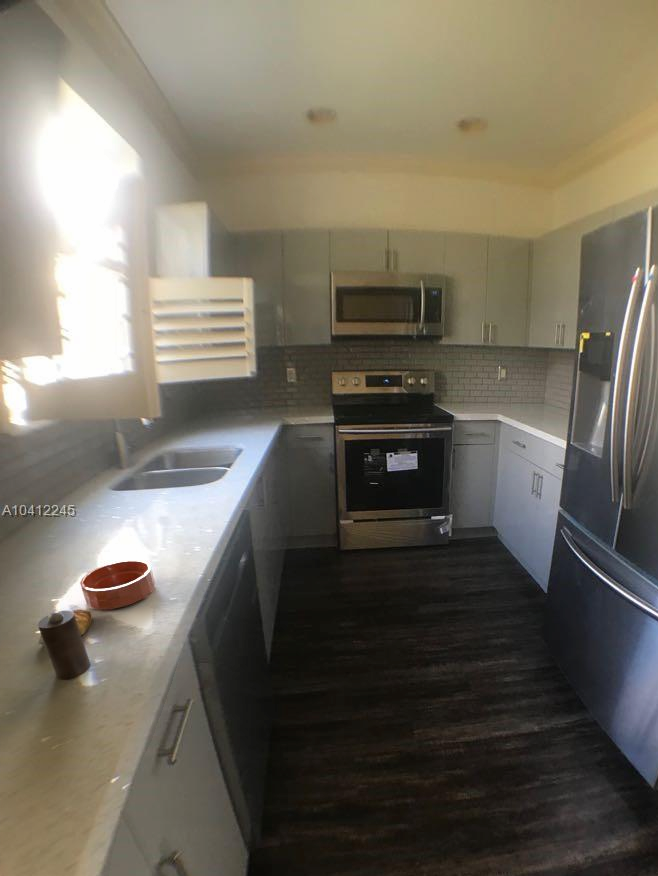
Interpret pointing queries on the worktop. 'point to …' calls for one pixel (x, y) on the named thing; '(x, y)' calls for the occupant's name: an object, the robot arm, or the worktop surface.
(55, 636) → the pepper mill
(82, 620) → the pastry
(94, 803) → the worktop surface
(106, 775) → the worktop surface
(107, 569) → the bowl
